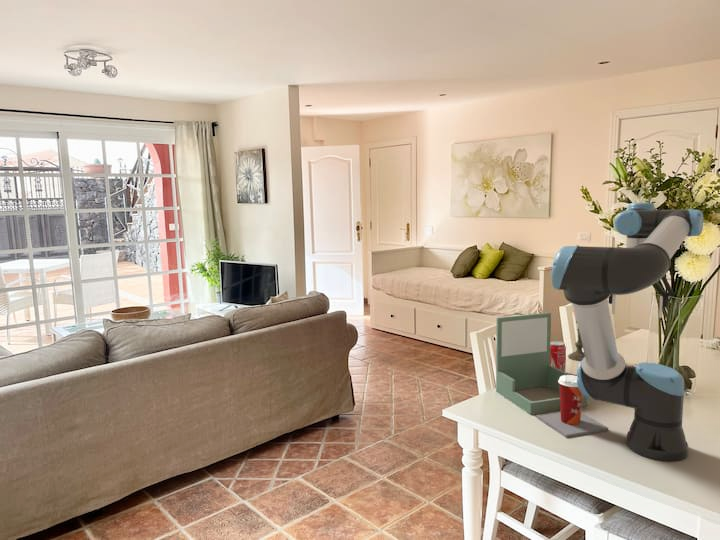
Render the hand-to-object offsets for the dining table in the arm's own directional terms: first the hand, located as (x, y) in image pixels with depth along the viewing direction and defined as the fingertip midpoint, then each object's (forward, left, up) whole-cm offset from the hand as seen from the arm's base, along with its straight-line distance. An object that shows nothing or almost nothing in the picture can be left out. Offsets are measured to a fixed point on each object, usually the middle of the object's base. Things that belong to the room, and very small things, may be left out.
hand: (636, 315), depth 169 cm
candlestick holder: (+51, -19, -32) cm, 63 cm away
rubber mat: (-4, +27, -32) cm, 42 cm away
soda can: (+37, +3, -32) cm, 49 cm away
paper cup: (-4, +27, -31) cm, 41 cm away
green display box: (+17, +24, -32) cm, 43 cm away
